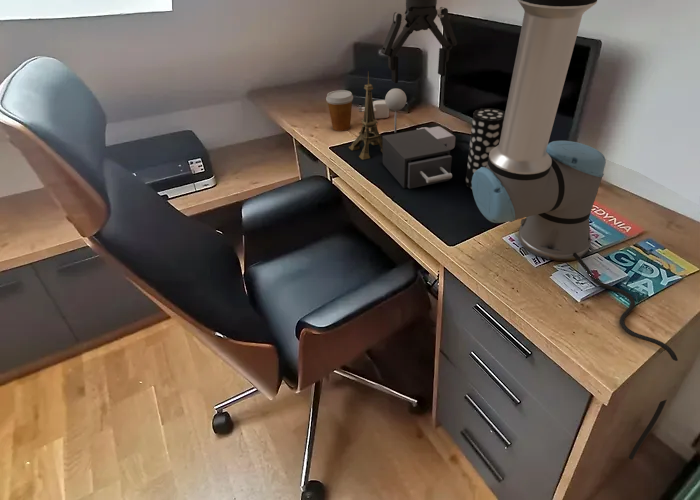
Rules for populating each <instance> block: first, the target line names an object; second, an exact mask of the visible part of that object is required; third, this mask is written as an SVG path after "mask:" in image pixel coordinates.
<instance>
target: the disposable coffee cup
mask: <svg viewBox="0 0 700 500" xmlns="http://www.w3.org/2000/svg"><path fill="white" fill-rule="evenodd" d="M325 100H326V102H327V106H328V111H329V116H330V120H331V125H332V129H333V130H334V131H337V132H342V131H347V130H350V128H351V121H352V120H351V119H352V107H353V100H354V95H353V93H352V92H351V91H350V90H345V89H337V90H332V91H329V92H327V94H326V97H325Z"/></svg>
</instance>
